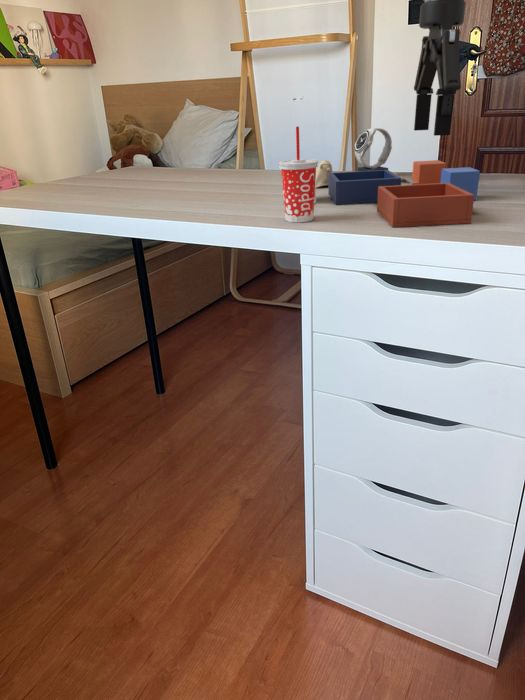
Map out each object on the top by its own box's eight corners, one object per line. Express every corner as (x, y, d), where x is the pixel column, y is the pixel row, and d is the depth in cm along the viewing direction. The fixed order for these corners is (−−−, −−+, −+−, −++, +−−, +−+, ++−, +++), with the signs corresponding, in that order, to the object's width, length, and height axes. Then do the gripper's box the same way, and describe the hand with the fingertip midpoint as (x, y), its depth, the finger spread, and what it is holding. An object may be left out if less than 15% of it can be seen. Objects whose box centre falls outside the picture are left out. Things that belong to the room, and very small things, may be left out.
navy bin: (386, 190, 105) (387, 169, 104) (400, 201, 95) (401, 178, 93) (328, 194, 106) (328, 172, 104) (335, 205, 95) (335, 181, 93)
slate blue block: (466, 195, 97) (469, 167, 94) (476, 200, 92) (480, 170, 90) (439, 197, 97) (441, 168, 95) (447, 202, 92) (450, 172, 90)
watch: (349, 182, 117) (350, 129, 112) (381, 179, 119) (383, 126, 114) (361, 186, 112) (363, 130, 107) (394, 182, 114) (397, 127, 109)
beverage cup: (284, 224, 83) (281, 129, 77) (277, 217, 88) (273, 127, 82) (322, 221, 84) (322, 126, 78) (312, 214, 89) (312, 124, 83)
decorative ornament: (331, 182, 118) (331, 157, 116) (333, 188, 111) (333, 162, 108) (313, 183, 119) (313, 158, 116) (313, 189, 111) (313, 162, 109)
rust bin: (446, 207, 88) (448, 182, 86) (471, 223, 78) (474, 194, 76) (376, 211, 88) (378, 186, 87) (392, 227, 78) (393, 199, 76)
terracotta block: (436, 185, 108) (438, 160, 105) (443, 190, 103) (446, 163, 101) (411, 187, 108) (413, 161, 105) (418, 191, 103) (420, 164, 101)
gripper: (404, 11, 103) (396, 129, 112) (444, -11, 80) (430, 138, 90) (442, 9, 102) (431, 127, 112) (493, -14, 80) (474, 136, 89)
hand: (430, 132), depth 101 cm, fingers open, 13 cm apart
